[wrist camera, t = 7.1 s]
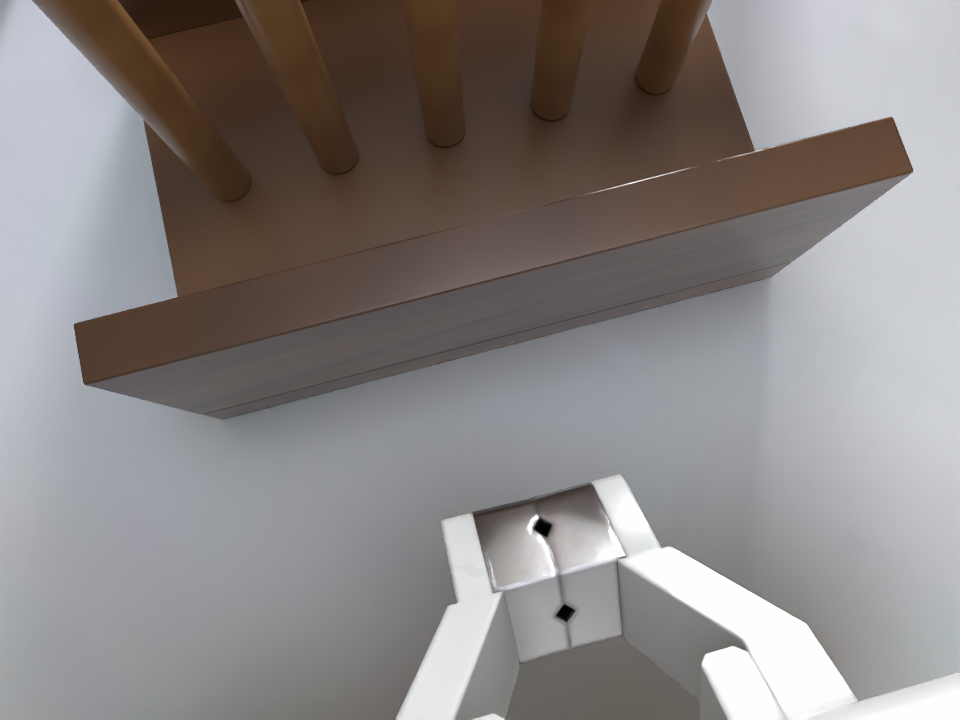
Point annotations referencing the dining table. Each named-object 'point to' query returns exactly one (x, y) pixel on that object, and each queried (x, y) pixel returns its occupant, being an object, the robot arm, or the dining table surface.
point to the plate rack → (436, 182)
